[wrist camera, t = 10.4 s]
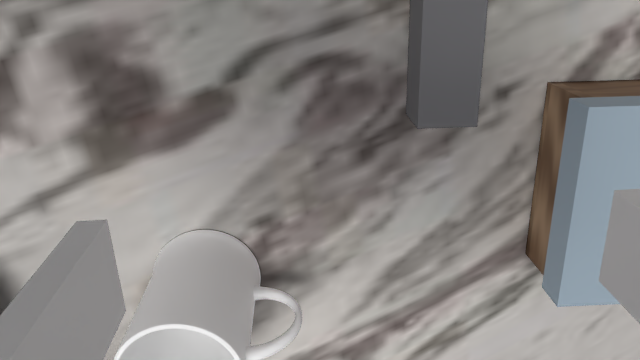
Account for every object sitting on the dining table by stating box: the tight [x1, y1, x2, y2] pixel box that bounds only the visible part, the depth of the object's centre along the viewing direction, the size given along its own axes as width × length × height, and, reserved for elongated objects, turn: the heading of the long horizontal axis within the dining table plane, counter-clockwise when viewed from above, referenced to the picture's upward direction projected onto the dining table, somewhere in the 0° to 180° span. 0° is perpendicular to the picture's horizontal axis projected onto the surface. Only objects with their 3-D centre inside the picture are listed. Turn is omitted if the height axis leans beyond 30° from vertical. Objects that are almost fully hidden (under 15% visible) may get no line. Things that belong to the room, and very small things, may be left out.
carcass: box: [526, 80, 640, 275], centre depth 38 cm, size 14×8×9 cm, turn 1°
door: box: [542, 96, 640, 307], centre depth 37 cm, size 14×9×2 cm, turn 1°
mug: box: [114, 230, 302, 360], centre depth 39 cm, size 12×8×12 cm
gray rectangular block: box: [406, 0, 488, 129], centre depth 36 cm, size 12×4×4 cm, turn 1°
